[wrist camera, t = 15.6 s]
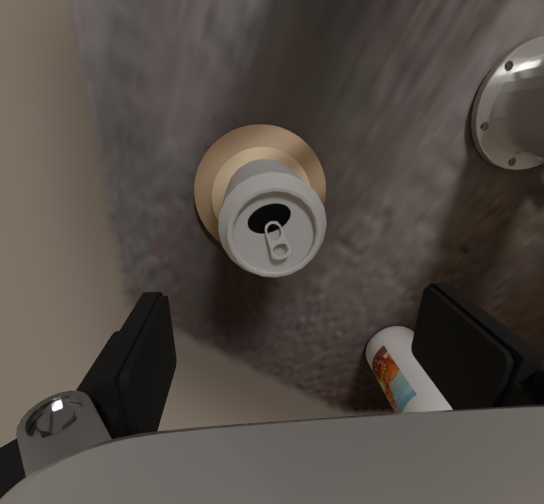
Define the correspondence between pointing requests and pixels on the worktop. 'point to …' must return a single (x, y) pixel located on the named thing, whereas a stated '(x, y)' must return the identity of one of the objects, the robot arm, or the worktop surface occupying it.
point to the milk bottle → (402, 372)
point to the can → (270, 219)
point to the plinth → (246, 148)
